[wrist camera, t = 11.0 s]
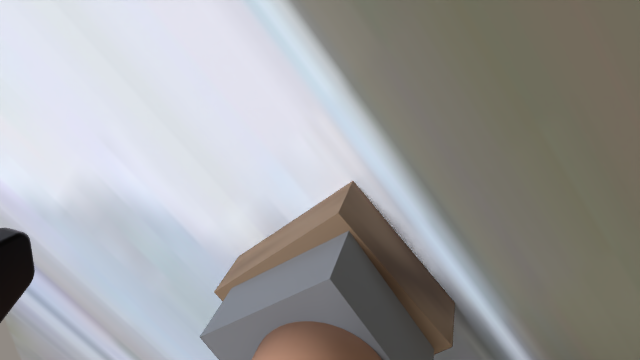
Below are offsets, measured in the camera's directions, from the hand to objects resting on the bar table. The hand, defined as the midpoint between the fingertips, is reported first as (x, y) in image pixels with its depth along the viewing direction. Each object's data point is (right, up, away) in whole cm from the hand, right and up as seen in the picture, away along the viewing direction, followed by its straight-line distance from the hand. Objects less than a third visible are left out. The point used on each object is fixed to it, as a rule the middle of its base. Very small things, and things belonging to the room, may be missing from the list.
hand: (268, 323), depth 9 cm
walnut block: (+2, -2, +16) cm, 16 cm away
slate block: (+1, -3, +13) cm, 13 cm away
